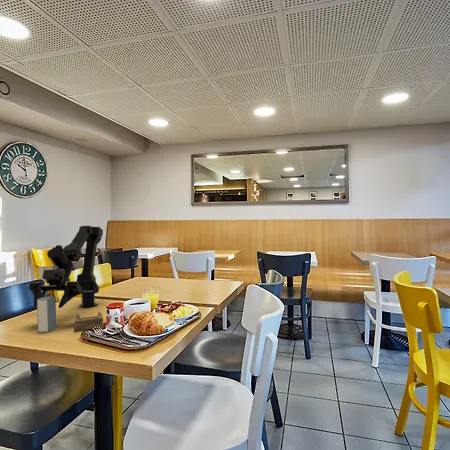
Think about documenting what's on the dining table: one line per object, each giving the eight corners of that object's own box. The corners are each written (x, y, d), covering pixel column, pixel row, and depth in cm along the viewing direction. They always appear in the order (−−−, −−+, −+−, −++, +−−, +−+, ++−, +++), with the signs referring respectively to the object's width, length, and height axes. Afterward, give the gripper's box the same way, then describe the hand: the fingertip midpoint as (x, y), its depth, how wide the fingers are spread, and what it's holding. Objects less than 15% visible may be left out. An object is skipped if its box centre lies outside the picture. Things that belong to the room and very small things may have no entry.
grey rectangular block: (46, 327, 117) (45, 296, 117) (56, 327, 117) (55, 296, 117) (37, 332, 112) (36, 299, 112) (48, 332, 112) (47, 299, 112)
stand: (75, 322, 123) (75, 313, 122) (102, 318, 127) (102, 310, 127) (74, 332, 112) (73, 322, 112) (103, 327, 116) (103, 318, 116)
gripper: (30, 261, 121) (11, 296, 109) (77, 260, 120) (63, 295, 109) (43, 278, 128) (26, 312, 117) (87, 277, 128) (75, 311, 117)
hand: (47, 307), depth 115 cm, fingers open, 9 cm apart
